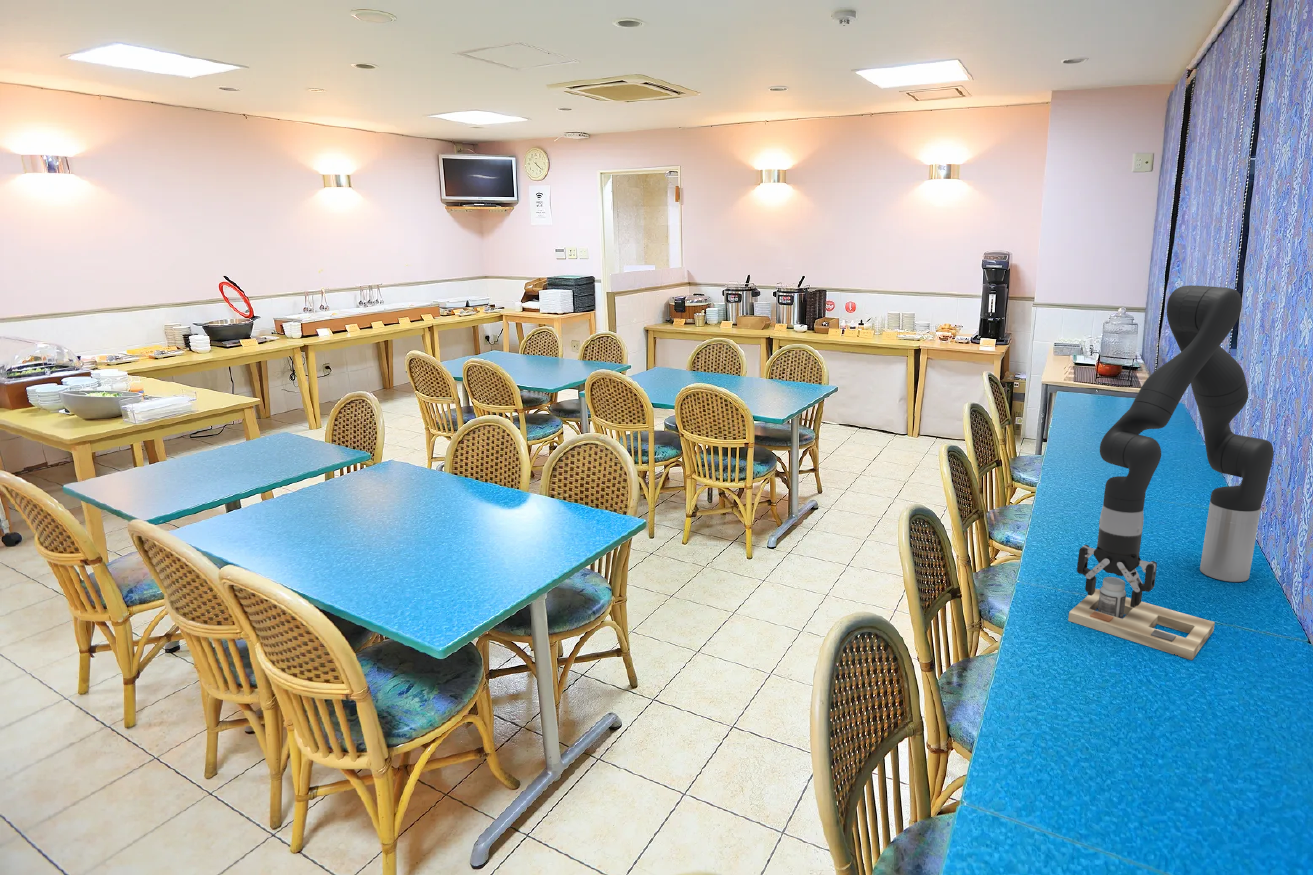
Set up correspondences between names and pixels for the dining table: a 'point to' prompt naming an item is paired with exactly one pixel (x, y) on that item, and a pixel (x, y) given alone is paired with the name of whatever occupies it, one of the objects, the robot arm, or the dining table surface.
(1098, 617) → the socket board
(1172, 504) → the dining table surface
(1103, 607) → the pill bottle
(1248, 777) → the dining table surface
